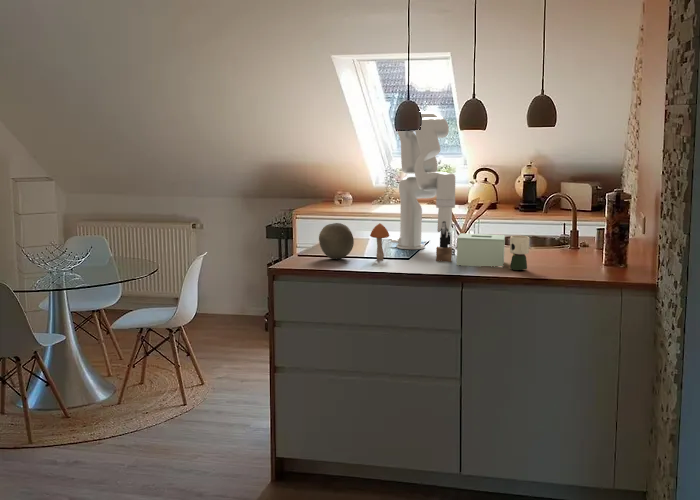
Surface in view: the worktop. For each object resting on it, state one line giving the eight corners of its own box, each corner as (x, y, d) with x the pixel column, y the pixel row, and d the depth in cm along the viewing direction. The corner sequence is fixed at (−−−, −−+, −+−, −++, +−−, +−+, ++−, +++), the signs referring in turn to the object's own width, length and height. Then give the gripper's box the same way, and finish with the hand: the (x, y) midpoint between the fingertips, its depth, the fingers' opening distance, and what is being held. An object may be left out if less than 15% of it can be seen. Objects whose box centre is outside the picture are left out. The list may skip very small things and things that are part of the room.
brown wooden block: (436, 261, 327) (436, 247, 326) (436, 259, 330) (437, 246, 329) (450, 261, 326) (451, 248, 325) (451, 260, 329) (451, 247, 328)
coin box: (456, 265, 318) (457, 237, 316) (459, 259, 330) (460, 233, 328) (502, 267, 314) (504, 239, 312) (503, 261, 326) (505, 235, 325)
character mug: (506, 267, 314) (508, 234, 312) (525, 267, 314) (526, 234, 311) (511, 272, 303) (513, 238, 301) (530, 273, 303) (532, 238, 301)
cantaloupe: (320, 256, 336) (320, 220, 333) (354, 257, 335) (354, 221, 333) (317, 262, 322) (317, 225, 319) (352, 263, 321) (352, 225, 319)
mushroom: (371, 261, 325) (372, 224, 323) (368, 258, 333) (368, 222, 331) (390, 260, 326) (391, 224, 324) (386, 257, 334) (387, 221, 332)
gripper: (438, 202, 333) (438, 243, 336) (433, 205, 317) (433, 248, 319) (456, 202, 332) (456, 243, 334) (453, 205, 315) (452, 249, 317)
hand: (445, 246), depth 326 cm, fingers open, 9 cm apart
